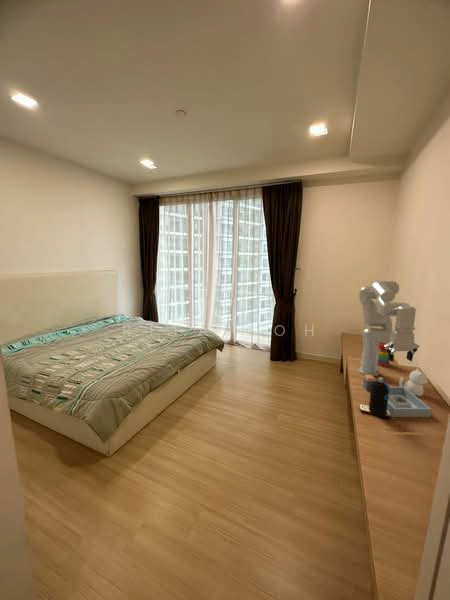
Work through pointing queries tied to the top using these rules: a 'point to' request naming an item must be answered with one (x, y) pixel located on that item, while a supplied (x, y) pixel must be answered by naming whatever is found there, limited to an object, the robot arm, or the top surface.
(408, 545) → the top surface
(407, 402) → the inlet
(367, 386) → the block
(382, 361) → the stacking bear
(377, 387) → the aerosol can
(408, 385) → the cat figurine
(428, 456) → the top surface
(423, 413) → the walled box
